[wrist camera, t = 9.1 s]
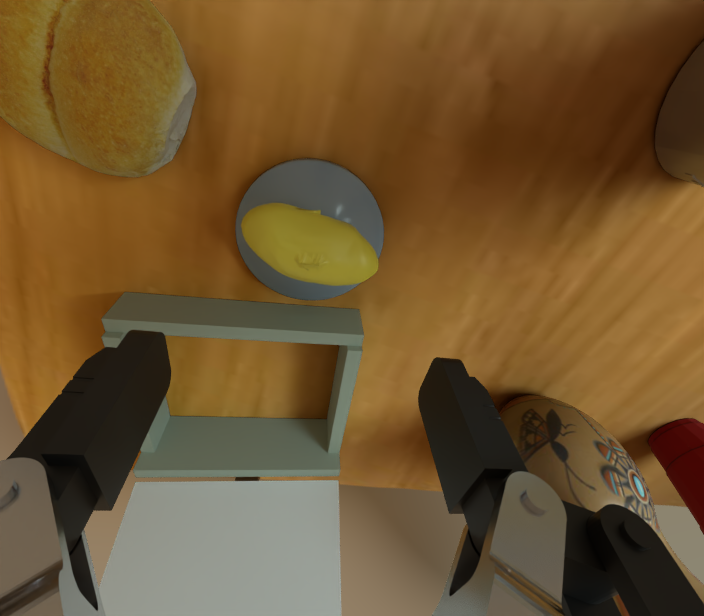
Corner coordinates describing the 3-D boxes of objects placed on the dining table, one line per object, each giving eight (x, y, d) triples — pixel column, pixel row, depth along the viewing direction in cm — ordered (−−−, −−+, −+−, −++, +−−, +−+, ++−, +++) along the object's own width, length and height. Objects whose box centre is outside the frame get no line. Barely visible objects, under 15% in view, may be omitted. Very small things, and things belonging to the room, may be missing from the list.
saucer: (234, 146, 18) (231, 149, 17) (395, 170, 19) (398, 173, 19) (240, 288, 23) (238, 294, 22) (368, 298, 24) (369, 305, 24)
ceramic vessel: (435, 416, 33) (627, 960, 13) (495, 354, 29) (927, 1024, 8) (549, 447, 39) (811, 866, 18) (613, 399, 34) (1052, 876, 14)
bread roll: (-19, -125, 12) (-139, -197, 9) (219, 46, 16) (193, 39, 12) (-30, 96, 16) (-119, 101, 13) (165, 196, 19) (134, 221, 16)
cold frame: (124, 292, 22) (82, 340, 18) (359, 309, 25) (367, 355, 21) (160, 422, 30) (135, 477, 26) (335, 425, 33) (338, 476, 29)
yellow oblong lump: (260, 172, 18) (248, 193, 15) (386, 231, 21) (398, 260, 17) (237, 238, 20) (223, 269, 17) (355, 284, 23) (361, 319, 19)
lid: (30, 786, 17) (38, 780, 17) (344, 743, 19) (341, 739, 20) (135, 482, 26) (138, 484, 27) (338, 480, 29) (337, 482, 29)
